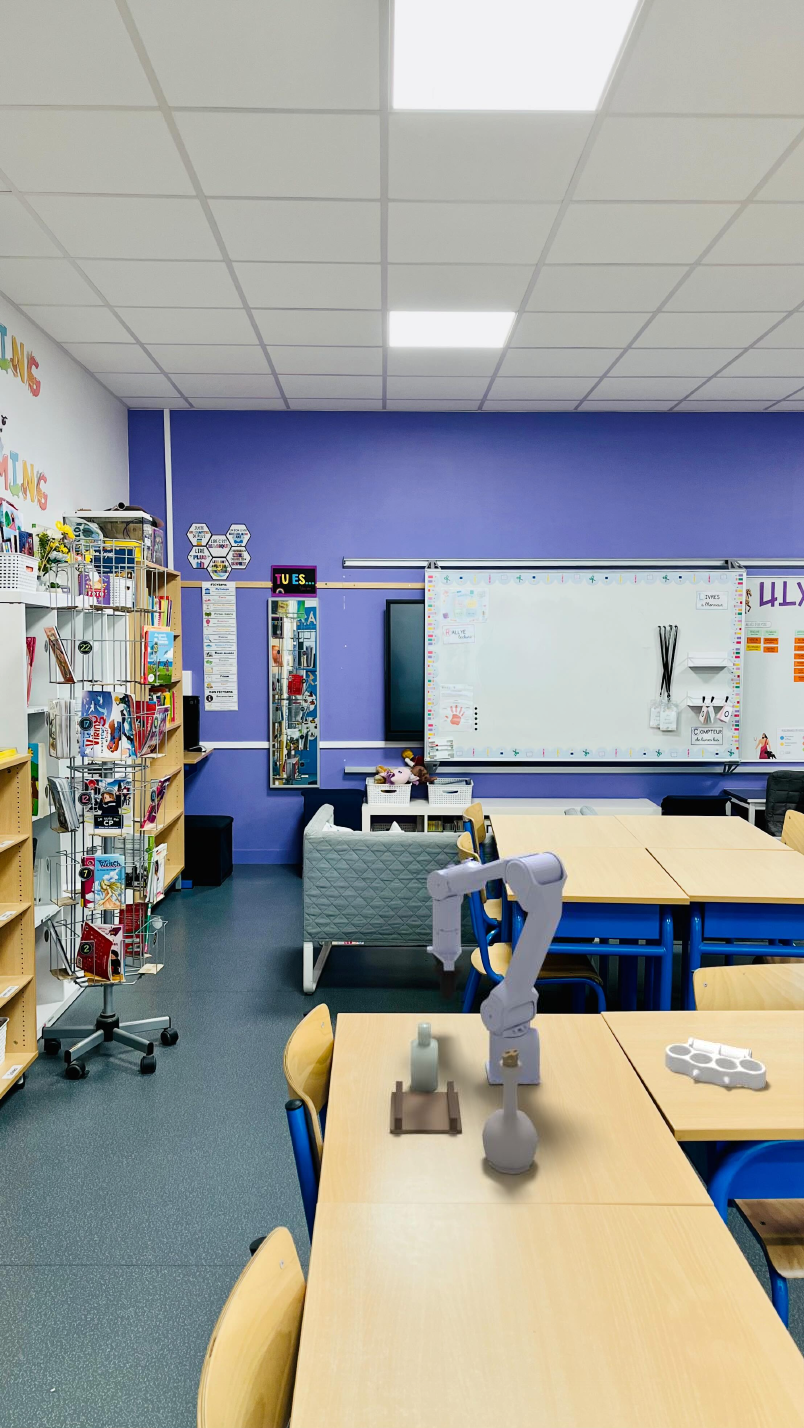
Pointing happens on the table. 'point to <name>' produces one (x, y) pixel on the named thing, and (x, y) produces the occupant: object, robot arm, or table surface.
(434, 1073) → the sage bottle
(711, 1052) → the knuckle duster
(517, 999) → the robot arm
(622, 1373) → the table surface
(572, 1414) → the table surface
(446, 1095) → the walnut cradle
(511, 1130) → the potion bottle
